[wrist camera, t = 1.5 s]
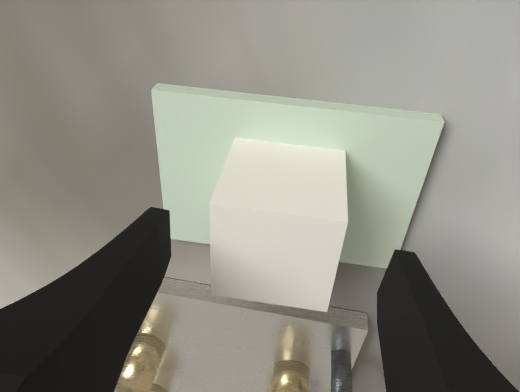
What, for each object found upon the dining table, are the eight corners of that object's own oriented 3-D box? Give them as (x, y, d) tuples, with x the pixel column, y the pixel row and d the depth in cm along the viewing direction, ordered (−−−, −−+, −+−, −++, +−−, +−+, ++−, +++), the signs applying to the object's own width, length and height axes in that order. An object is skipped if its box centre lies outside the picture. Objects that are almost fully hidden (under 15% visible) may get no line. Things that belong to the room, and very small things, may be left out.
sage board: (173, 223, 20) (133, 309, 16) (160, 79, 16) (101, 146, 12) (391, 253, 19) (405, 351, 15) (438, 109, 15) (476, 192, 11)
